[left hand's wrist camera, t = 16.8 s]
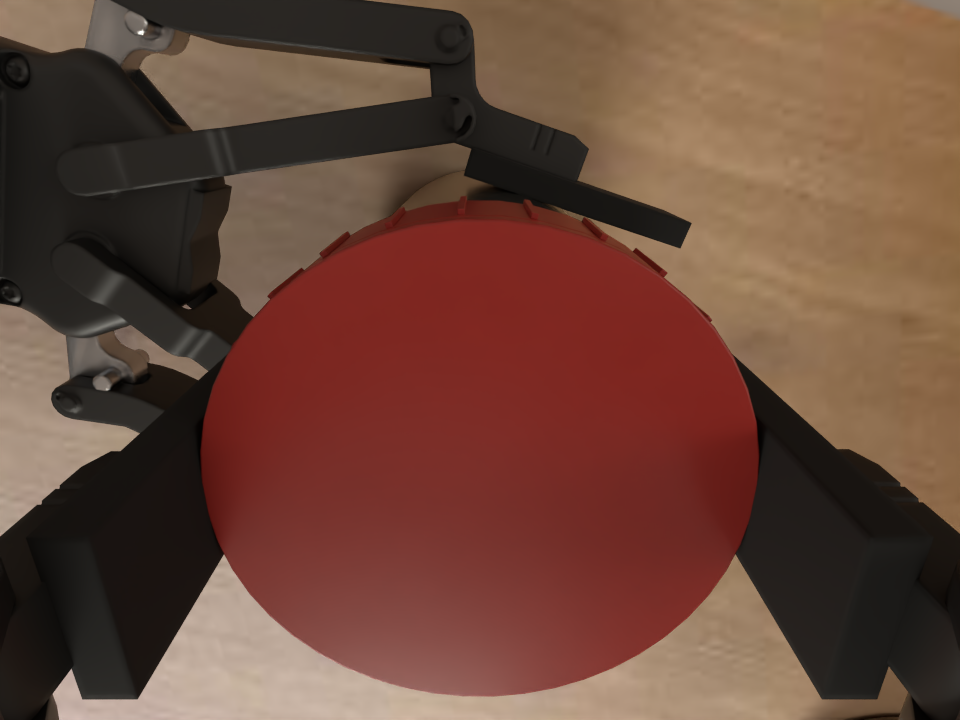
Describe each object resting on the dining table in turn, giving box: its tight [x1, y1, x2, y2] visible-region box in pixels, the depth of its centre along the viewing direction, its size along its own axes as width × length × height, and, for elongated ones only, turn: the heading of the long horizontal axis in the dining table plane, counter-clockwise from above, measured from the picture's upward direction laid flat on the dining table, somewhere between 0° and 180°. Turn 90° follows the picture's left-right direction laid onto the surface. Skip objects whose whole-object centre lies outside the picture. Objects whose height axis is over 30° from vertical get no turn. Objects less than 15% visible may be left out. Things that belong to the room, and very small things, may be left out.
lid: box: [200, 196, 759, 696], centre depth 11 cm, size 10×10×2 cm
